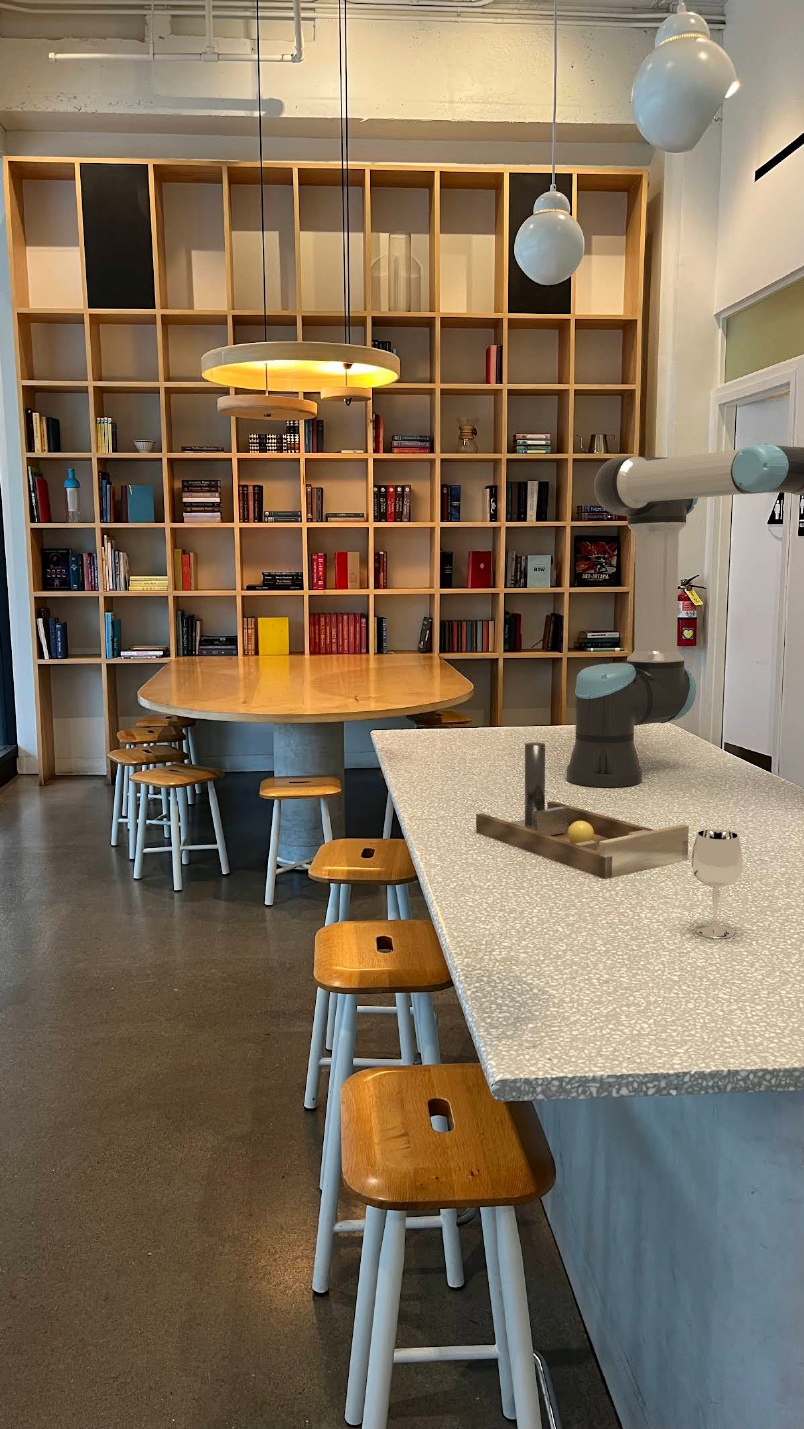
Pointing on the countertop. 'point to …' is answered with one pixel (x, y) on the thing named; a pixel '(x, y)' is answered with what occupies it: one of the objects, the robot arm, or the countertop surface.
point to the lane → (595, 843)
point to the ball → (580, 832)
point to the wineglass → (716, 870)
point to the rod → (539, 795)
